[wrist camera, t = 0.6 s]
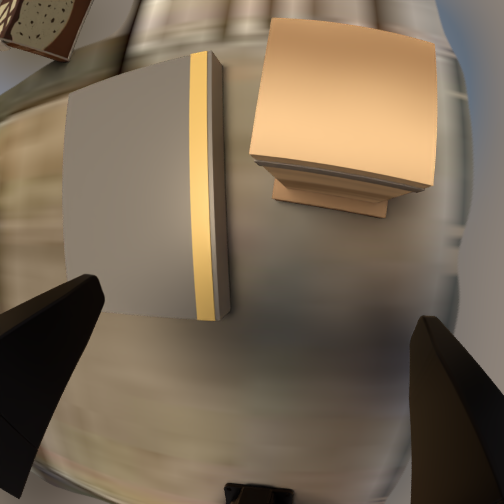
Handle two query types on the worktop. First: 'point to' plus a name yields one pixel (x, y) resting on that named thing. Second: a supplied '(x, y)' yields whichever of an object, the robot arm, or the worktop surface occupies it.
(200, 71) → the plate
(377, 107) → the tan piece
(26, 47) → the food container
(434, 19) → the worktop surface
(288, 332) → the worktop surface
